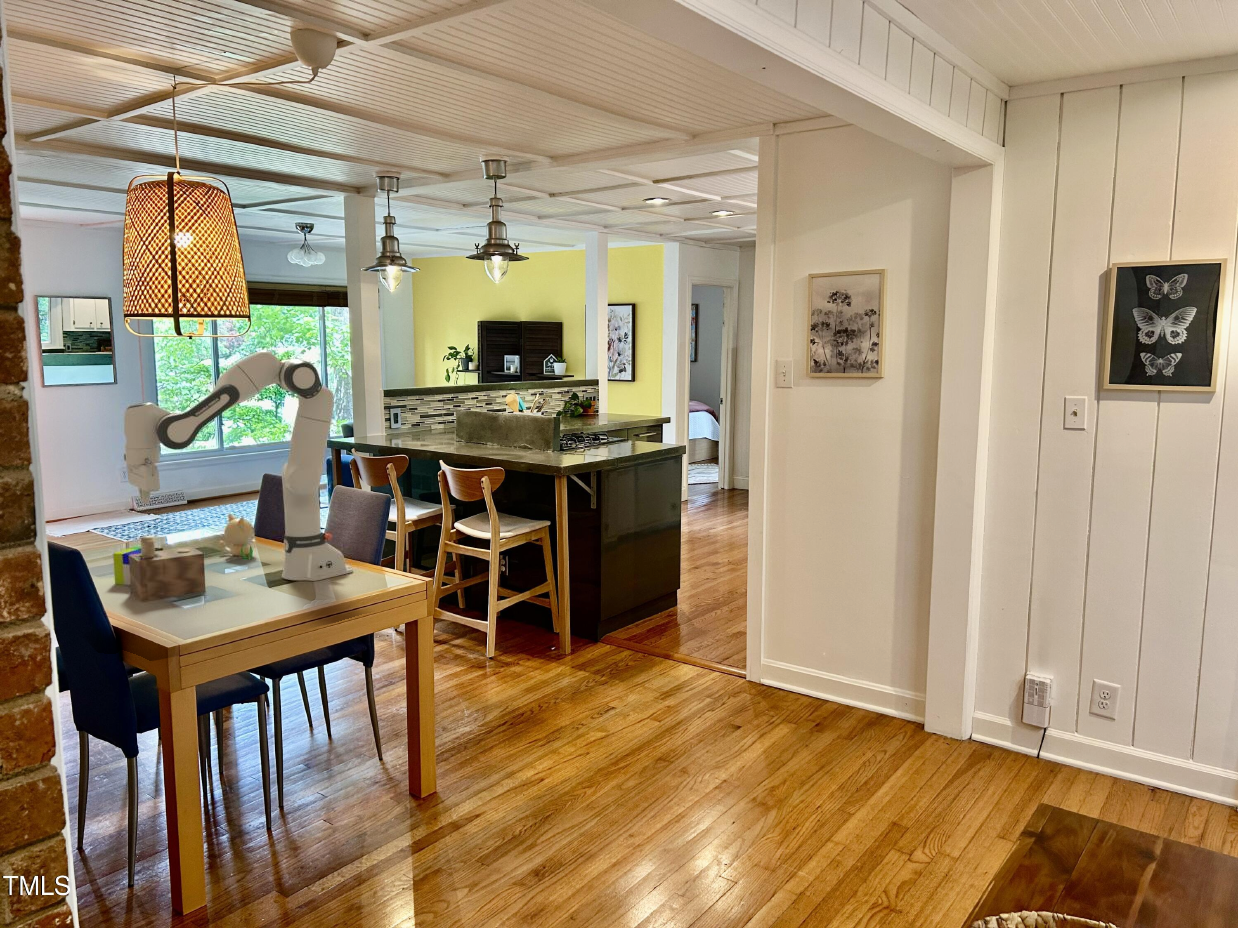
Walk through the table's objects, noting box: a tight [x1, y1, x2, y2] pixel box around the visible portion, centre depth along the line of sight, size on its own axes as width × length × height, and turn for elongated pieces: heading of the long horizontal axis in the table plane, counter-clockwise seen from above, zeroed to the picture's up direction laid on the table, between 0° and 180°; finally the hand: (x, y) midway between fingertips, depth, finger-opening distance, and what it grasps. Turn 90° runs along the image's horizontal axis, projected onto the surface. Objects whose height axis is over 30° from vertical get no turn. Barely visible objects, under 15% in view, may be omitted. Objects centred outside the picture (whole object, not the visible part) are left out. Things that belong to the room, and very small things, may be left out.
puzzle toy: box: [112, 546, 164, 586], centre depth 283 cm, size 10×10×10 cm
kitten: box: [218, 513, 256, 560], centre depth 318 cm, size 15×10×15 cm
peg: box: [140, 535, 156, 559], centre depth 266 cm, size 4×4×12 cm
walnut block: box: [129, 546, 207, 603], centre depth 270 cm, size 18×12×12 cm, turn 132°
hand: (145, 502), depth 264 cm, fingers closed
